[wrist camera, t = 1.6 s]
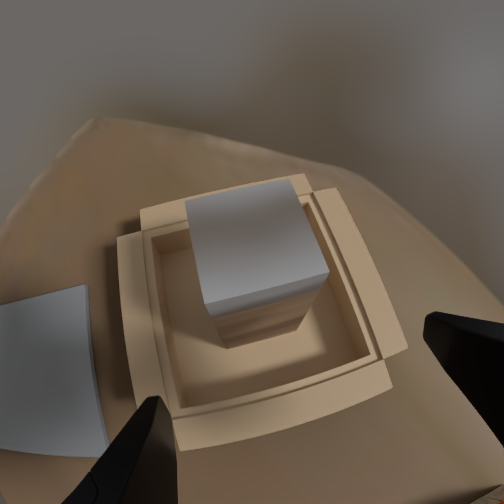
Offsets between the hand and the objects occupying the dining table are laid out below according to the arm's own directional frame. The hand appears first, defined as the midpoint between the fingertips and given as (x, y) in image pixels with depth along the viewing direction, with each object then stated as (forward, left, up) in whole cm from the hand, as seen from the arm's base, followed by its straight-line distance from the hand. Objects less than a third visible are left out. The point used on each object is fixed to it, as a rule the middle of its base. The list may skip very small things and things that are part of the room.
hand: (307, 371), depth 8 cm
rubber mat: (+4, +20, -12) cm, 24 cm away
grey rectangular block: (+6, 0, -11) cm, 13 cm away
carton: (+6, 0, -12) cm, 13 cm away
